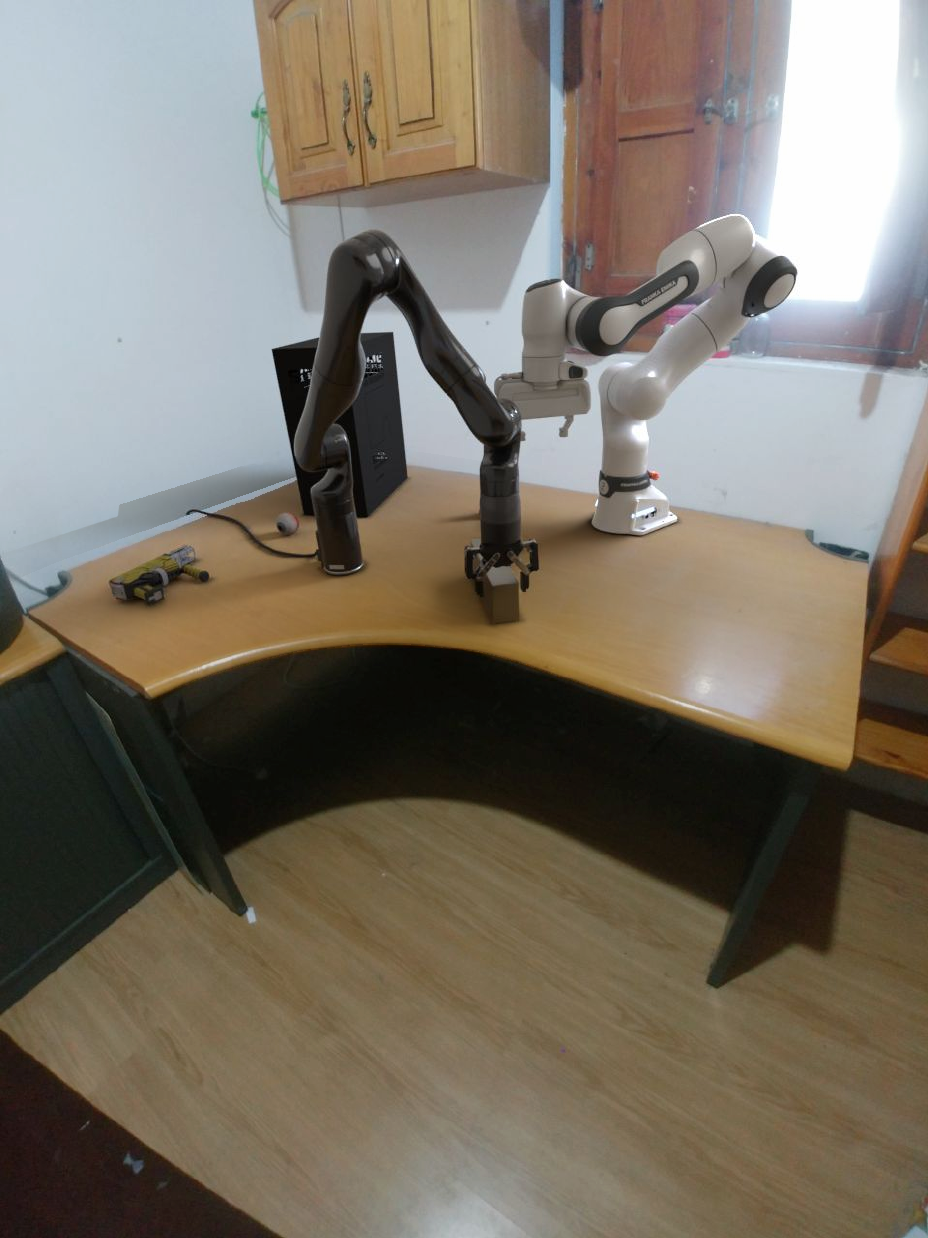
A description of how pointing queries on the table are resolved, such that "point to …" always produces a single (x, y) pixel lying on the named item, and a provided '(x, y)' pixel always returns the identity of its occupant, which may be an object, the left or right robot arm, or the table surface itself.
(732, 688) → the table surface
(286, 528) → the eyeball
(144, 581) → the toy gun
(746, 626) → the table surface
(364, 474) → the cardboard box
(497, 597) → the bar
